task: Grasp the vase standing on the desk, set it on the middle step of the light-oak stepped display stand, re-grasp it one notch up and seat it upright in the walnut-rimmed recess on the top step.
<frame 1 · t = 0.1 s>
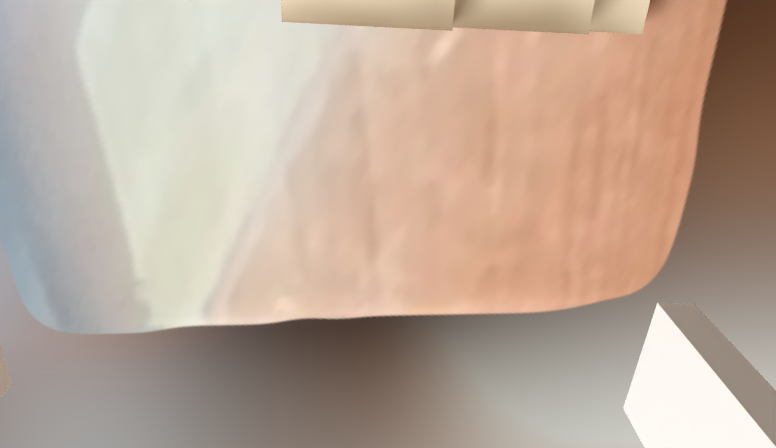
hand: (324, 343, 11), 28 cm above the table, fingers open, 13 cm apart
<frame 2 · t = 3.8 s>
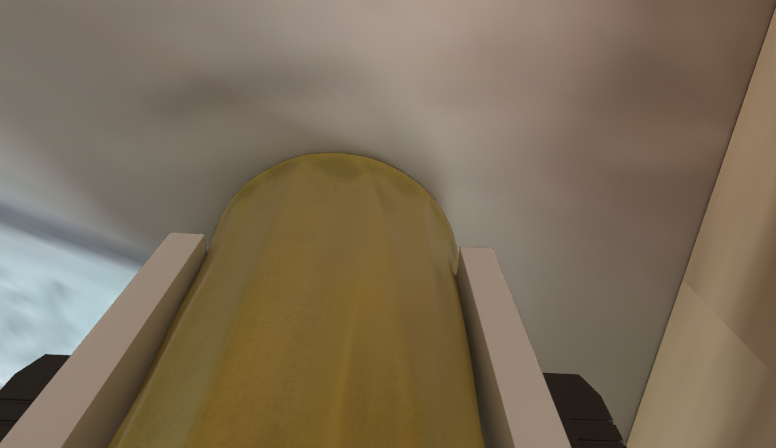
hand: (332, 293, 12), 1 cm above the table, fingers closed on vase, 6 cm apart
vase: (337, 259, 14), on the table, touching gripper
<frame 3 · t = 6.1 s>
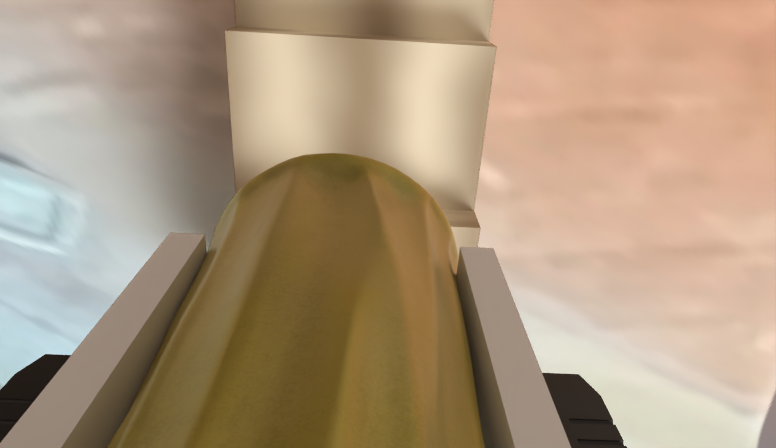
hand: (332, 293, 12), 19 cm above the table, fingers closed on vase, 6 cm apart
vase: (337, 260, 14), point 17 cm above the table, touching gripper
step stand: (360, 149, 31), on the table
when the fingers open (7 cm above the table, at t = 8.5 s): vase drops 1 cm, resting on step stand.
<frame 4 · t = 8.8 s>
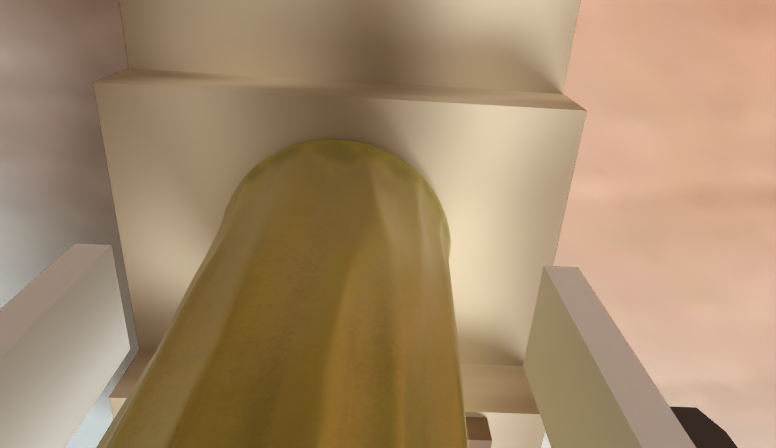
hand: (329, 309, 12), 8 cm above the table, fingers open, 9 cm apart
vase: (338, 240, 15), point 4 cm above the table, touching step stand
step stand: (347, 246, 20), on the table
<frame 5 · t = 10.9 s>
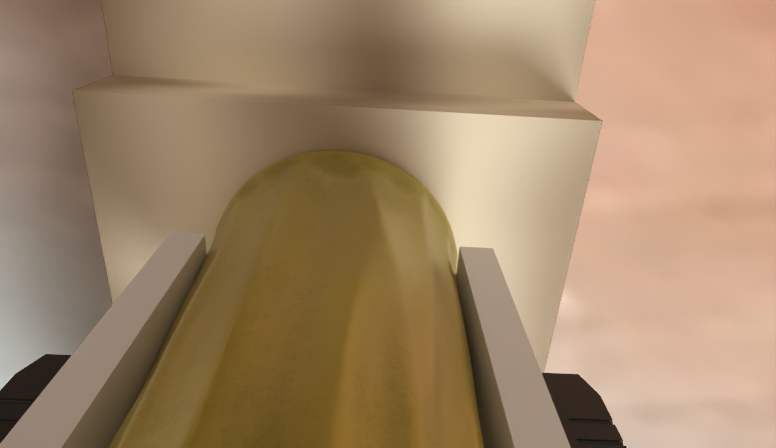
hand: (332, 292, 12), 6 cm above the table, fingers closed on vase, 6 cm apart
vase: (337, 256, 14), point 4 cm above the table, touching gripper, step stand
step stand: (346, 259, 19), on the table
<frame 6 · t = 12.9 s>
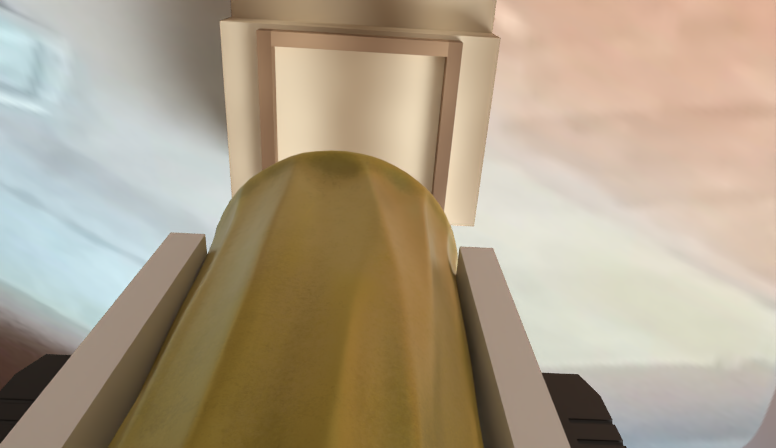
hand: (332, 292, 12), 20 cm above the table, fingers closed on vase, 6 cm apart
vase: (337, 256, 14), point 18 cm above the table, touching gripper
when the fingers open (9 cm above the table, at t = 15.1 s): vase drops 1 cm, resting on step stand.
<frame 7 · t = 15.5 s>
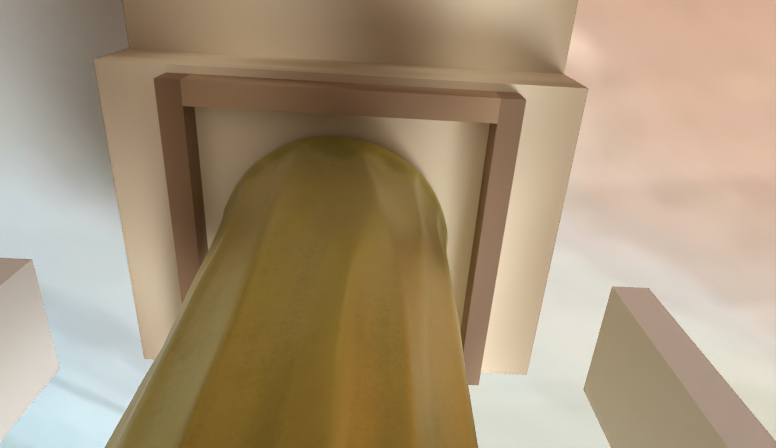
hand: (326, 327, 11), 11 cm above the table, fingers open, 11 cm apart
vase: (336, 236, 15), point 6 cm above the table, touching step stand
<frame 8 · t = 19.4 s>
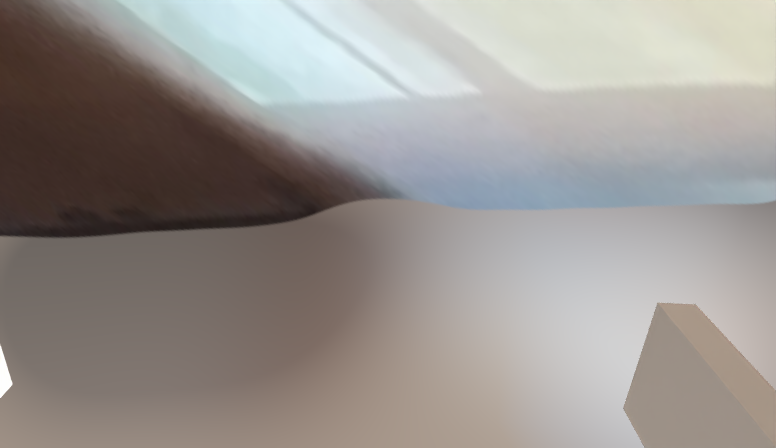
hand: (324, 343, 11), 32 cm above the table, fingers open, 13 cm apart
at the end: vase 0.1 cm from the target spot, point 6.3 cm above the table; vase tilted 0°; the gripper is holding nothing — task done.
